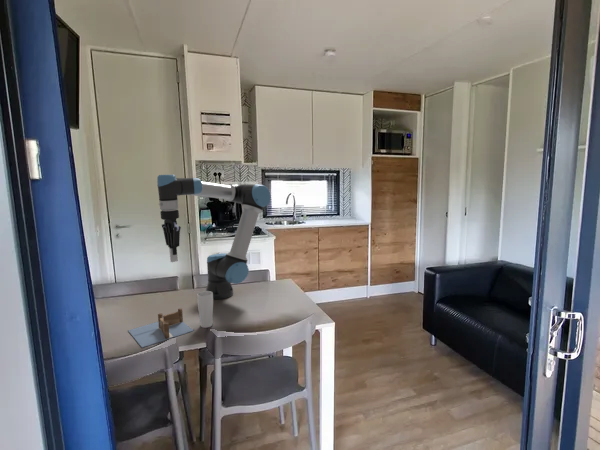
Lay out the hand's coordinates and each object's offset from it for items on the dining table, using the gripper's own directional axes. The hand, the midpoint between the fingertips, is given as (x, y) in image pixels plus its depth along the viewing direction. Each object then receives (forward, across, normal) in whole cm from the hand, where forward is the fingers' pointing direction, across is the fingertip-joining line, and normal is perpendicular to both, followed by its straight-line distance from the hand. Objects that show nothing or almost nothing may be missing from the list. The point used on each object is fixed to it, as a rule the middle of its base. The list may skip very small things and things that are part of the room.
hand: (174, 261), depth 150 cm
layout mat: (+27, +6, -12) cm, 30 cm away
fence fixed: (+28, +4, -6) cm, 28 cm away
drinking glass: (+28, +16, +4) cm, 33 cm away
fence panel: (+27, +9, -12) cm, 31 cm away
